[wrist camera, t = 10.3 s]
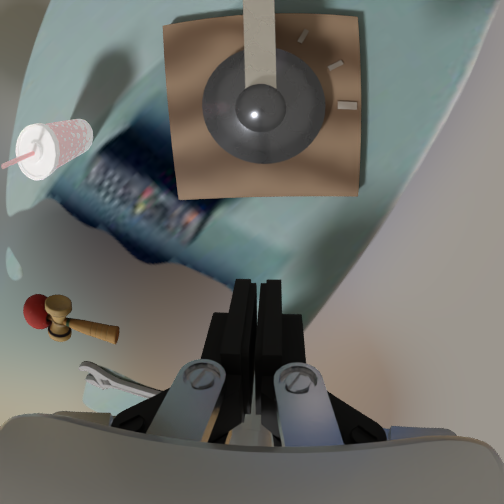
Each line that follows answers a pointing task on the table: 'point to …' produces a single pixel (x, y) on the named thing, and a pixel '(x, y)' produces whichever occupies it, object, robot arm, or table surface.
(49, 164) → the beverage cup
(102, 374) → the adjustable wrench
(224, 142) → the dial
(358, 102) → the dial plate
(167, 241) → the table surface
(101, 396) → the table surface
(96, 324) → the kendama
